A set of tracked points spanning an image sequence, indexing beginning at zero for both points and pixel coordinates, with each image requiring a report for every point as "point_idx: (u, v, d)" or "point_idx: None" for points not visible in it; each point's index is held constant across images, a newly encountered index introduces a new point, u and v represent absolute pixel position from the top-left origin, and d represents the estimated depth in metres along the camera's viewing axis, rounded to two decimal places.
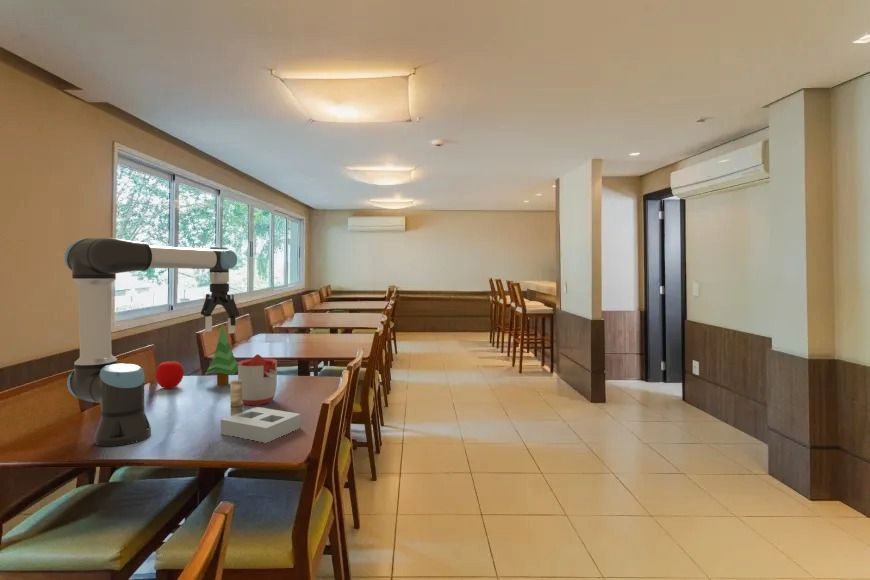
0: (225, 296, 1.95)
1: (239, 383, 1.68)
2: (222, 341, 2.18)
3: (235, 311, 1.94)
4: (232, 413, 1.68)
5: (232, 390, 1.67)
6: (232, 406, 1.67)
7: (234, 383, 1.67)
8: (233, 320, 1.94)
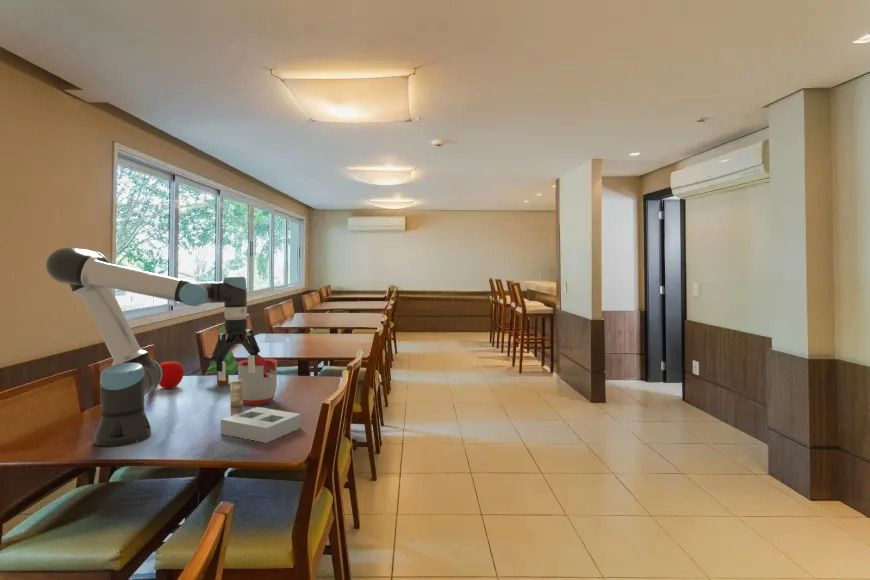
0: None
1: (239, 383, 1.68)
2: None
3: (214, 355, 1.60)
4: (232, 413, 1.68)
5: (232, 390, 1.67)
6: (232, 406, 1.67)
7: (234, 383, 1.67)
8: (217, 365, 1.61)
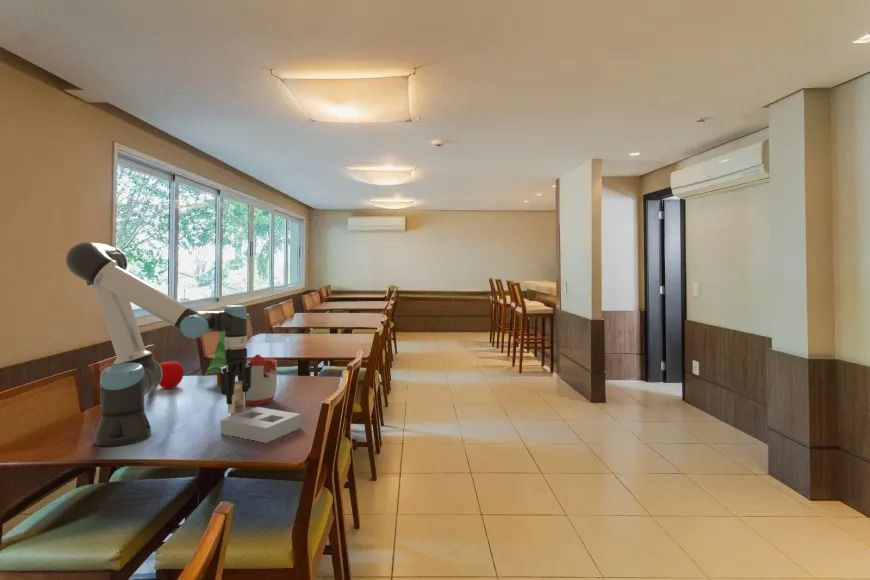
0: None
1: (239, 383, 1.68)
2: (222, 341, 2.18)
3: (223, 389, 1.64)
4: (232, 413, 1.68)
5: None
6: None
7: None
8: (227, 398, 1.66)
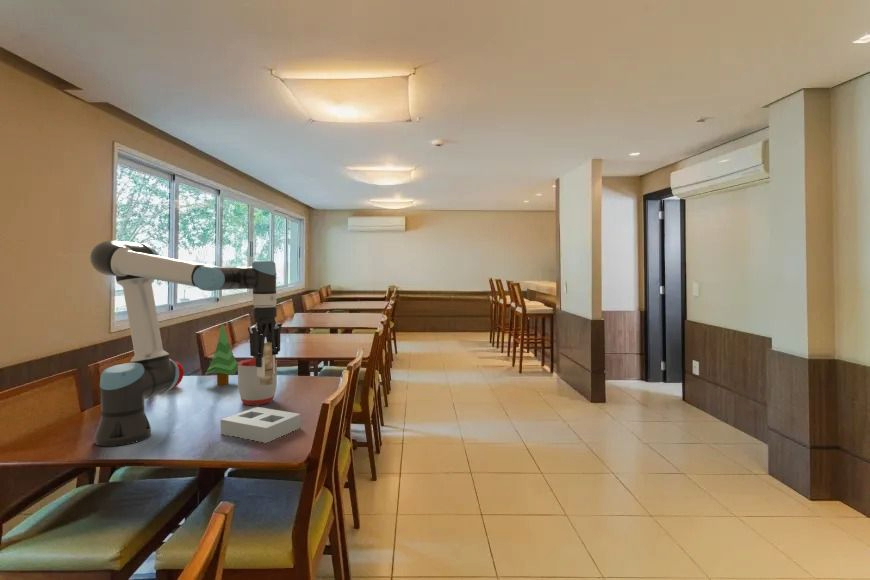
0: None
1: (269, 344, 1.55)
2: (222, 341, 2.18)
3: (252, 350, 1.51)
4: (262, 377, 1.55)
5: None
6: None
7: (264, 344, 1.54)
8: (256, 360, 1.53)
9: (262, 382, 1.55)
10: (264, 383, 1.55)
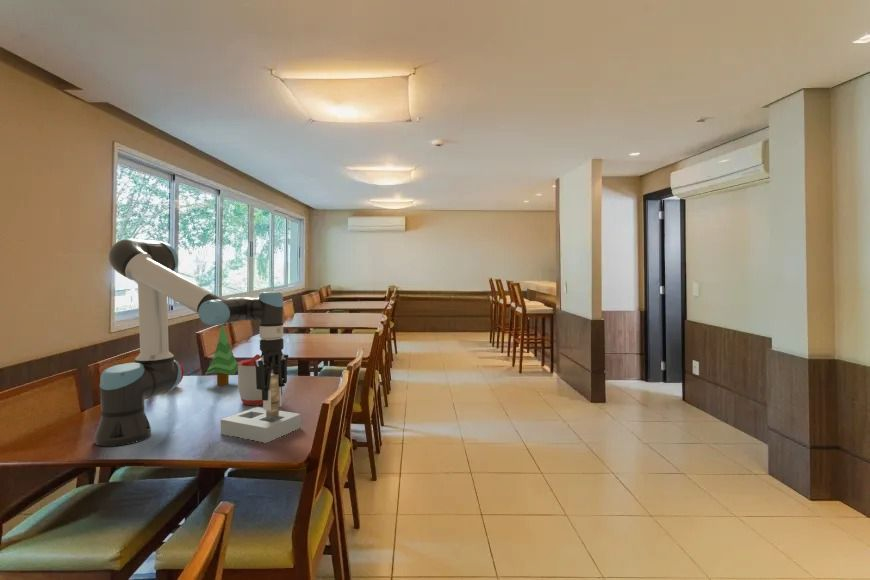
0: None
1: (275, 377, 1.53)
2: (222, 341, 2.18)
3: (258, 384, 1.49)
4: (268, 410, 1.53)
5: None
6: None
7: None
8: (263, 394, 1.51)
9: (269, 416, 1.52)
10: (270, 416, 1.52)
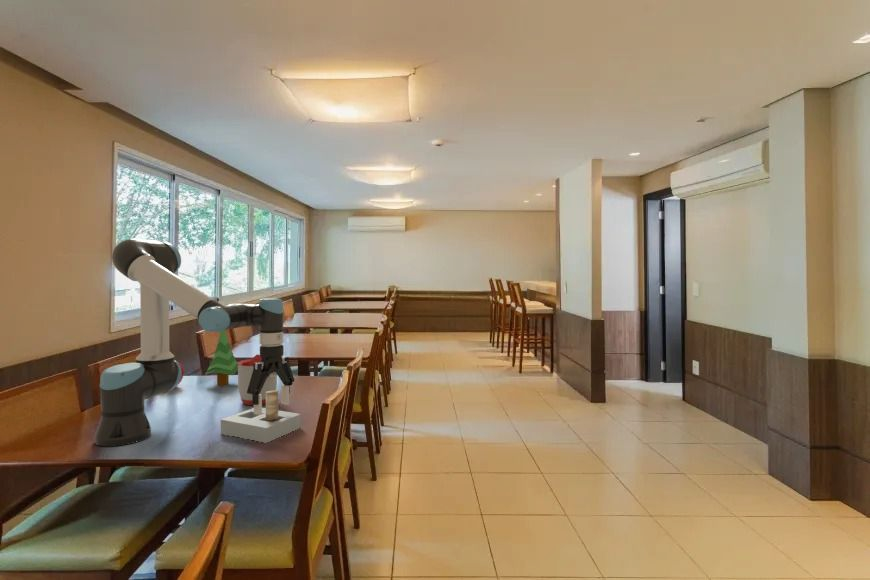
0: None
1: (275, 394, 1.53)
2: (222, 341, 2.18)
3: (250, 387, 1.46)
4: None
5: (268, 402, 1.52)
6: (268, 419, 1.53)
7: (270, 394, 1.52)
8: (253, 398, 1.47)
9: None
10: None
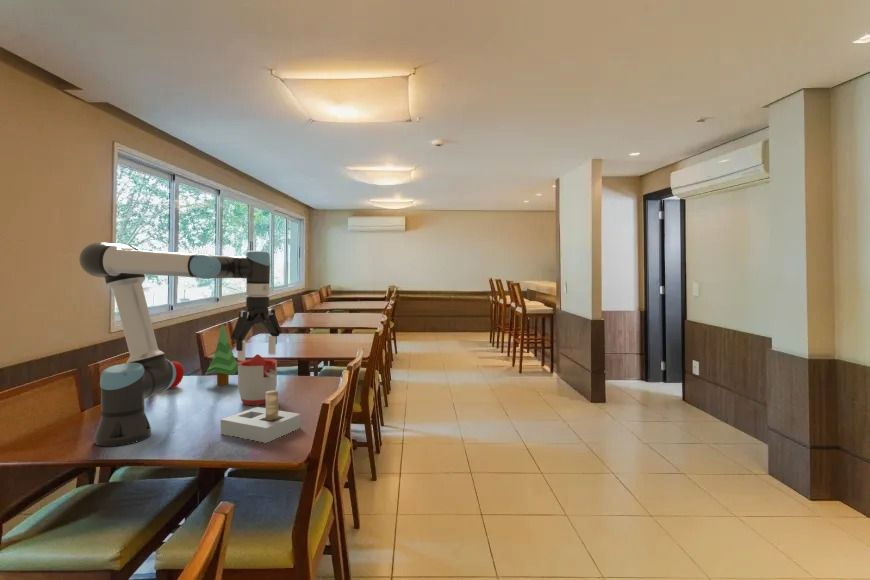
0: None
1: (275, 394, 1.53)
2: (222, 341, 2.18)
3: (234, 333, 1.51)
4: None
5: (268, 402, 1.52)
6: (268, 419, 1.53)
7: (270, 394, 1.52)
8: (237, 344, 1.52)
9: None
10: None
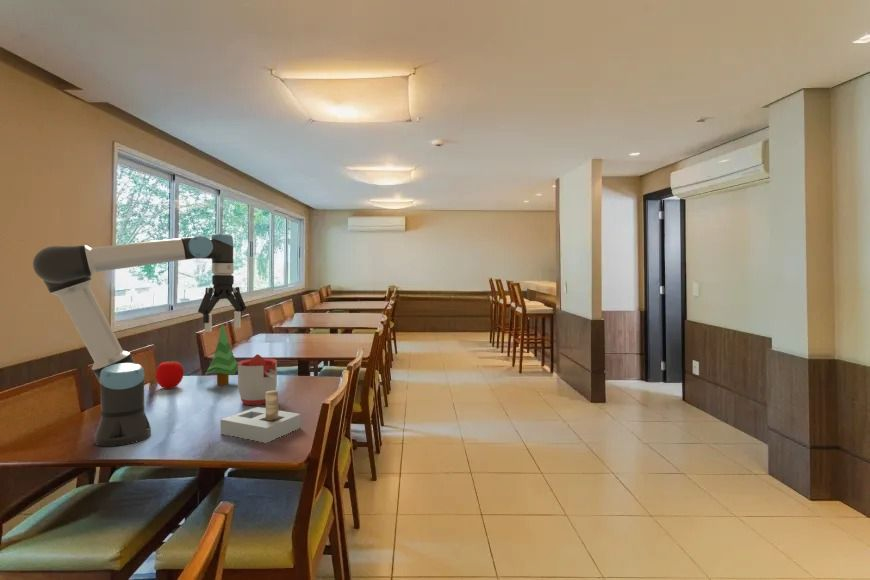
0: None
1: (275, 394, 1.53)
2: (222, 341, 2.18)
3: (201, 307, 1.69)
4: None
5: (268, 402, 1.52)
6: (268, 419, 1.53)
7: (270, 394, 1.52)
8: (204, 317, 1.70)
9: None
10: None
